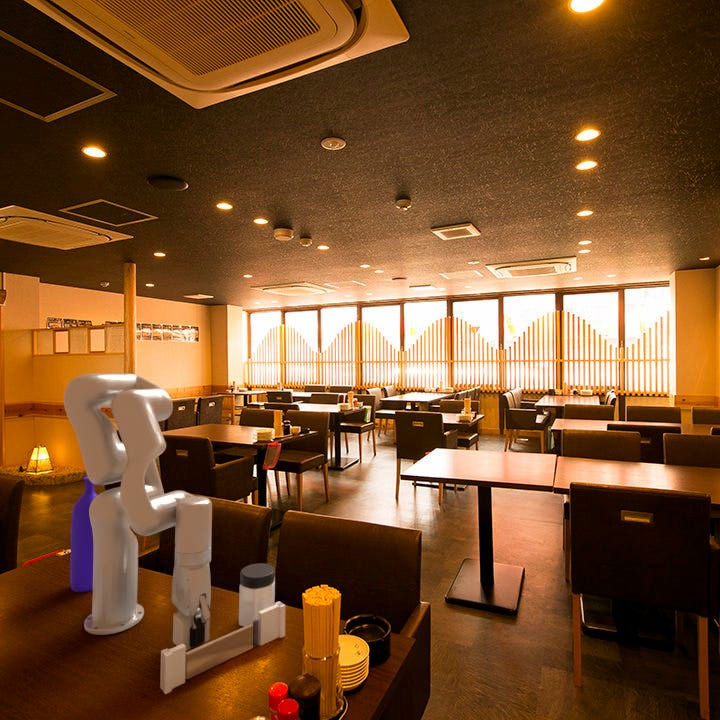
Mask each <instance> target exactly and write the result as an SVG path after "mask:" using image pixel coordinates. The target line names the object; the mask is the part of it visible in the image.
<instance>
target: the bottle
mask: <svg viewBox="0 0 720 720" xmlns="http://www.w3.org/2000/svg"><path fill="white" fill-rule="evenodd" d="M82 480H83V481H85V489H84V493H83V494H82V495H81V496H80V498H79V499H78V500H76V502H75V503H74V505H73V508H72V511H71V525H70V526H71V530H70V560H69V561H70V566H69V567H70V569H69V570H70V571H69V572H70V573H69V575H70V576H69V578H70V589H71V590H72V592H75V593H85V592H86V593H87V592H91V591H93V532H92V526H91V521H90V516H89V508H90V505H91V503H92V501H93V500H94V498H95V497H96V496H98V495H99V494H97V493H96V492H95V489H94V488H95V487H94V485H95V484H93V483H91V481H90V480H89V478H88V476H85V477H84V478H83V479H82Z"/></svg>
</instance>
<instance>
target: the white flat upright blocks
mask: <svg viewBox="0 0 720 720" xmlns="http://www.w3.org/2000/svg"><path fill="white" fill-rule="evenodd" d="M258 621H259V623H258V646H263V645H265V644H268V643H270V642H272V641H274V640H276V639H282V638H284V637H285V636H286V604H284V603H283V602H281V601H276V602H275V605H273V606H271V607H268V608H266V609H264V610H261V611H259V612H258ZM186 652H187V650H186V646H185V645H184V644H181V645H178V646H177V645H175V646H174V647H171V648H168V647H167V648H164V649H161V651H160V686H159V687H160V690H162V692H163V693H164V695H167V694H169V693H171V692H172V691H173V689H175V688H176V687H179V686H181V685H184V684H185V683H186V677H185V663H186Z"/></svg>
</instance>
